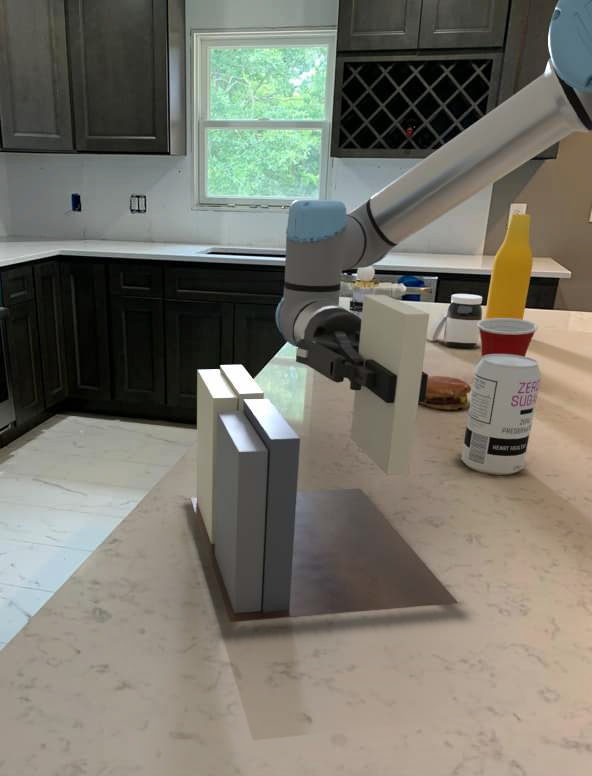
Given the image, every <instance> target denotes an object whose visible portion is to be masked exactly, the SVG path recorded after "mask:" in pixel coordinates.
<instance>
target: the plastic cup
mask: <svg viewBox="0 0 592 776" xmlns="http://www.w3.org/2000/svg"><path fill="white" fill-rule="evenodd" d="M477 326H478V328H479V330H480V333H479V339H480V356H481V357H480V359H481V360H482V357H483V356H485V355H489V354H511V355H519V356H524V357H526V354H527V353H528V352H527V351H528V349H529V346H530V344H531V341H532V339H533V337H534V335H535V333H536V331H537V330H538V329H539V325H538V324H537V323H534V322H532V321H530V320H525V319H523V320H521V319H511V318H494V319H486V320H484V319H481V321H480V322H478V323H477ZM481 360H480V361H481Z"/></svg>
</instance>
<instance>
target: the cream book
mask: <svg viewBox="0 0 592 776" xmlns="http://www.w3.org/2000/svg"><path fill="white" fill-rule="evenodd" d="M429 321H430V313H428V312H426V311H424V310H421V309H419V308H416V307H415V306H412V305H410V304H407V303H405V302H403V301H400V300H398V299H396V298H393V297H391V296H388V295H386V294H375V295H364V299H363V310H362V321H361V331H360V342H359V353H358V354H359V355H360V356H361V357H362V358H363V359H364V365H365V361H366V359H373V360H374V361H376V362H377V363H379V364H380V365H382V366H383V367H385V368H387V369H388V370H390V371H391V372H393V373H394V374H396V375H397V381H396V390H395V399H394V403H386V402H385V401H383V400H382V399H381V398H379V397H378V396H377V395H376V394H374V393H373V392H372V391H370V390H369V389H368V388H366V387H364V386H361V390H354V397H353V408H352V409H353V410H352V419H351V429H350V439H351V441H352V442H354V444H356V445H357V447H358V448H359V449H360V450H361V451H362V452H363V453H364V454H365V455H366V456H367V457H368V458H370V460H371V461H372V462H373V463H374V464H375V465H376V466H377V467H378V468H379V469H380V470H381V471H382V472H383V473H384V474H385V475H386V476H394V475H395V476H396V475H409V474H410V469H411V462H412V454H413V446H414V440H415V439H414V438H415V430H416V422H417V415H418V407H419V403H418V400H419V392H420V384H421V376H422V371H423V368H424V360H425V352H426V346H427V345H426V344H427V338H428V328H429Z"/></svg>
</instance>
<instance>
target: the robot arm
mask: <svg viewBox="0 0 592 776" xmlns="http://www.w3.org/2000/svg"><path fill="white" fill-rule="evenodd" d="M548 51H549V55H550V57H549V58H548V61H547V64H546V67H545V70H544V72H543V73H542V74H541V75H539V76H538V77H536V78H535V79H534V80H532V81H531V82H530V83H529V84H527V85H526V86H524V87H523V88H522V89H520V90H519V91H517V92H516V93H515V94H513V95H512V96H510V97H509V98H508V99H506V100H505V101H503V102H502V103H501V104H499V105H498V106H497V107H494V108H493V109H492V110H491V111H489V112H488V113H487V114H485V115H484V116H482V117H481V118H480V119H479V120H476V122H474V123H473V124H471V125H470V126H469V127H467V128H466V129H464V130H463V131H462V132H460V133H458V134H457V135H456V136H455V137H453V138H452V139H450V140H448V141H447V142H446V143H445V144H444V145H441V146H440V147H439V148H438V149H436V150H435V151H433V152H432V153H431V154H429V155H428V156H426V157H425V158H424V159H423V160H421V161H419V162H418V163H417V164H415V165H414V166H412V167H411V168H410V169H409V170H407V171H406V172H405V173H403V174H401V175H400V176H399V177H397V178H396V179H394V180H393V181H392V182H391V183H389V184H388V185H386V186H385V187H383V188H382V189H381V190H379V191H378V192H376V193H375V194H373V195H372V196H371V197H370V198H368V199H367V200H366V201H364V202H363V203H362V204H360V205H359V206H357V207H356V208H354V209H353V210H351V211H350V212H347V206H346V205H345V203H344V202H343V201H340V200H331V199H329V200H327V199H297V200H294V201H293V202H292V203H291V204H290V205H289V209H288V217H287V225H286V229H285V234H286V236H285V237H286V238H285V260H284V261H285V262H284V263H285V264H284V286H283V297H282V298H281V299H280V301H279V302H278V305H277V307H276V310H275V323H276V326H277V328H278V331H279V332H280V334H281V335H282V338H284V340H285V341H286V342H287V343H288V344H290V345H292V346H293V347H296V355H295V362H296V363H299V364H301V365H304V366H308V367H309V368H311V369H313V370H314V371H315V372H317V373H319V374H320V375H322V376H324V377H326V378H327V379H328V380H330V381H332V382H334V383H337V384H338V383H343V382H344V381H345V380H344V379H347V380H348V381H349V389H350V390H351V391H355V390H361V386H364V387H366V388H368V389H369V390H370V391H372V392H373V393H374V394H376V395H377V396H378V397H379V398H381V399H382V400H383V401H385V402H386V403H394V399H395V390H396V381H397V375H396V374H394V373H393V372H391V371H390V370H388V369H387V368H385V367H383V366H382V365H380V364H379V363H377V362H376V361H374V360H373V359H366V361H365V365H364V359H363V358H362V357H361V356H360V355H359V354H358V353H359V342H360V331H361V321H362V319H361V318H359V317H358V316H357V315H355V314H353V313H351V312H350V310H348V309H346V308H344V307H343V306H341V305H340V293H341V284H342V274H343V273H342V272H343V271H347V270H353V269H358V268H363V267H368V266H371V265H372V266H373V265H375V264H377V263H379V262H380V261H382V260H383V259H385V258H386V257H387V256H388V254H389V253H390V251H391V250H393V248H395V247H396V246H398V245H400V243H402V242H403V241H405V240H406V239H408V238H410V237H411V236H413V235H415V234H416V233H417V232H419V231H421V230H422V229H424V228H425V227H427V226H428V225H430V224H431V223H433V222H435V221H437V220H438V219H439V218H441V217H442V216H444V215H446V214H447V213H449V212H450V211H452V210H453V209H455V208H457V207H458V206H460V205H462V204H463V203H465V202H466V201H467V200H469V199H470V198H472V197H474V196H476V195H477V194H478V193H480V192H482V191H483V190H485V189H487V188H488V187H489V186H491V185H492V184H494V183H496V182H497V181H499V180H501V179H502V178H504V177H505V176H507V175H508V174H509V173H511V172H513V171H514V170H516V169H517V168H519V167H521V166H522V165H523V164H526V163H527V162H528V161H530V160H531V159H533V158H535V157H536V156H537V155H539V154H541V153H542V152H544V151H546V150H547V149H548V148H550V147H551V146H553V145H555V144H556V143H558V142H560V141H561V140H562V139H564V138H565V137H567V136H569V135H571V134H572V133H574V132H581V133H589V132H591V131H592V0H558V1H557V3H556V6H555V8H554V10H553V13H552V17H551V20H550V23H549V30H548ZM428 377H429V374H428V373H426V372H424V371H423V370H422V376H421V384H420V392H419V400H418V402H425V395H426V387H427V380H428Z"/></svg>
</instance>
